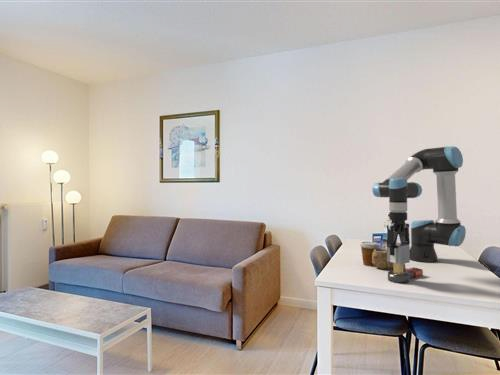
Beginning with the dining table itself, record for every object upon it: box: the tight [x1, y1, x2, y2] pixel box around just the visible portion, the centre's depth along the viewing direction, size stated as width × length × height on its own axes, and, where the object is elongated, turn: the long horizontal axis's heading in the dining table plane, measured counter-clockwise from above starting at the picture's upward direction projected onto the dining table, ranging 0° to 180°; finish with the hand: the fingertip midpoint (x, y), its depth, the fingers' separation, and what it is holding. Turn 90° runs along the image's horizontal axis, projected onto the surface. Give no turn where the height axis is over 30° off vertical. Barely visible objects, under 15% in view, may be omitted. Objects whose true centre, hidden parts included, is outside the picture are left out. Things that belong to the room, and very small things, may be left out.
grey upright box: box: [386, 241, 411, 265], centre depth 139 cm, size 7×7×8 cm
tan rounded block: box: [372, 247, 407, 271], centre depth 158 cm, size 9×16×10 cm, turn 74°
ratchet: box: [387, 263, 424, 285], centre depth 142 cm, size 20×9×9 cm, turn 121°
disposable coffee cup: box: [360, 241, 379, 267], centre depth 167 cm, size 10×10×12 cm
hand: (398, 261), depth 139 cm, fingers closed on grey upright box, 7 cm apart
